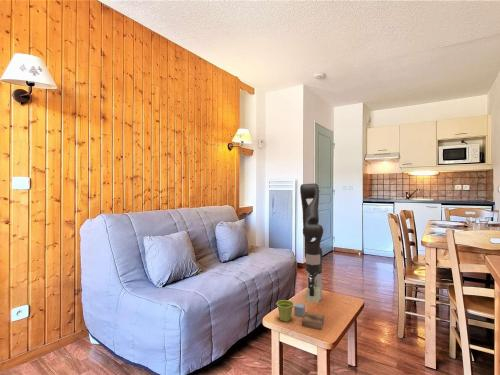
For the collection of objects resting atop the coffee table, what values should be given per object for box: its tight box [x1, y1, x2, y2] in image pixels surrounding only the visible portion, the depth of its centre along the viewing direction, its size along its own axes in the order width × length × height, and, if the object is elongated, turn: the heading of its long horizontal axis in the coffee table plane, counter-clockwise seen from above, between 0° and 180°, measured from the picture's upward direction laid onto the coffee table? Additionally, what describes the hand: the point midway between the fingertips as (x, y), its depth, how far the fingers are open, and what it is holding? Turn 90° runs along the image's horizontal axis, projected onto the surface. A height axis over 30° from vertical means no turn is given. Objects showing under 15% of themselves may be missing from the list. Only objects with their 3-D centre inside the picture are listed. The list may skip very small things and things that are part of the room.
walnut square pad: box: [301, 311, 325, 331], centre depth 149 cm, size 10×10×3 cm
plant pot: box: [276, 299, 295, 323], centre depth 154 cm, size 9×9×9 cm
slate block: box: [293, 302, 306, 318], centre depth 160 cm, size 5×5×5 cm
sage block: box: [305, 286, 320, 303], centre depth 149 cm, size 6×6×6 cm
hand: (312, 293), depth 149 cm, fingers closed on sage block, 6 cm apart
